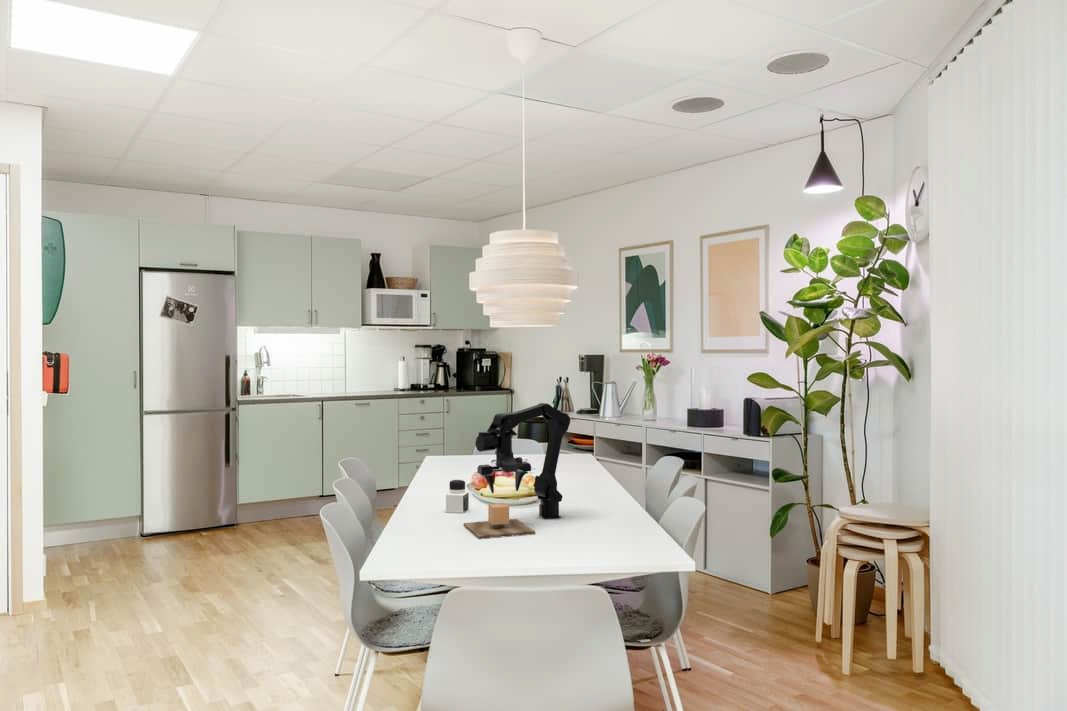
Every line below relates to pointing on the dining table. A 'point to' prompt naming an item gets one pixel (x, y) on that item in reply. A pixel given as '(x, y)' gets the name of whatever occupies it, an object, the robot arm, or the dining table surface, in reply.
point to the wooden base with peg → (498, 529)
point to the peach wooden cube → (498, 513)
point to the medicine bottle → (457, 497)
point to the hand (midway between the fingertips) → (504, 492)
